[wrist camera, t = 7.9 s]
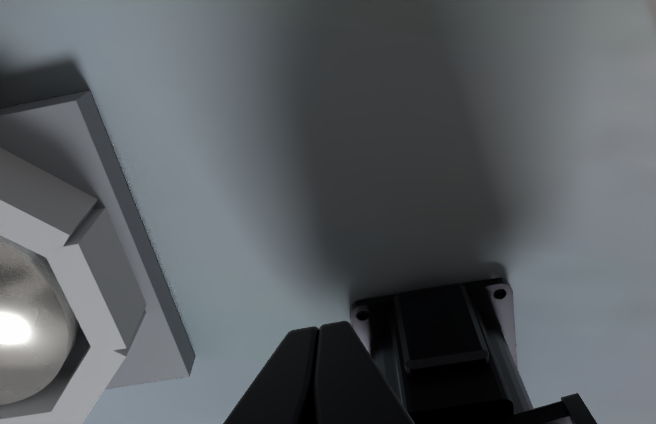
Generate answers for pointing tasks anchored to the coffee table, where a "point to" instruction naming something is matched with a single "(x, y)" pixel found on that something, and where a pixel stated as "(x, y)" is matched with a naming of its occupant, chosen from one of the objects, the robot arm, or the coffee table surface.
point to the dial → (31, 323)
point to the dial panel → (86, 256)
